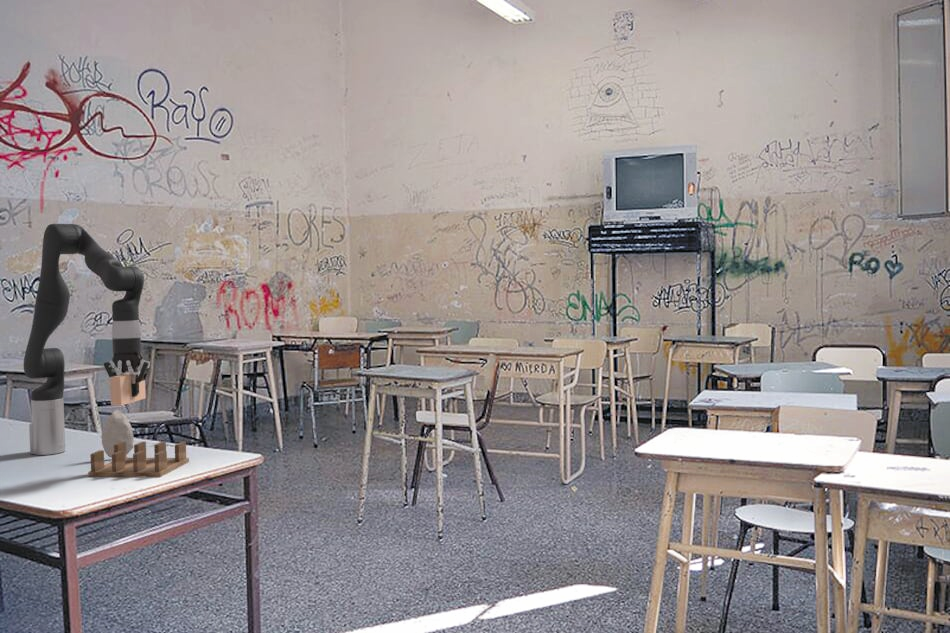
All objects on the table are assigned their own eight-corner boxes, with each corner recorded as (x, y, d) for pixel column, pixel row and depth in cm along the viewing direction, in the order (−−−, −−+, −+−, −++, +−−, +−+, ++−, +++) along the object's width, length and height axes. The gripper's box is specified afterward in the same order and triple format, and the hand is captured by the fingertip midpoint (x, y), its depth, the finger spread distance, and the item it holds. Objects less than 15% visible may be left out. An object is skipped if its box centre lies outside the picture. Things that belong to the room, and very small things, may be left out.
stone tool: (103, 461, 261) (101, 412, 261) (101, 459, 264) (99, 410, 263) (135, 457, 266) (133, 408, 266) (132, 455, 269) (131, 407, 268)
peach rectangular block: (111, 405, 241) (109, 377, 240) (135, 398, 255) (134, 371, 254) (121, 405, 240) (120, 377, 240) (145, 398, 254) (144, 371, 254)
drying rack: (88, 476, 242) (87, 454, 241) (121, 461, 260) (121, 441, 260) (160, 476, 240) (159, 454, 239) (189, 461, 259) (188, 441, 258)
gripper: (96, 337, 244) (98, 398, 244) (143, 337, 242) (145, 398, 243) (110, 335, 251) (112, 394, 252) (156, 335, 250) (158, 394, 250)
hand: (128, 396), depth 247 cm, fingers closed on peach rectangular block, 3 cm apart
